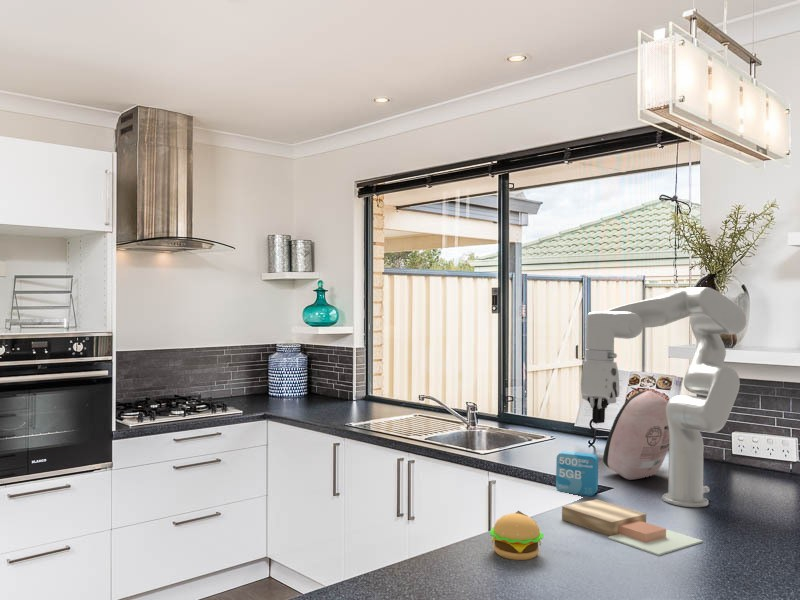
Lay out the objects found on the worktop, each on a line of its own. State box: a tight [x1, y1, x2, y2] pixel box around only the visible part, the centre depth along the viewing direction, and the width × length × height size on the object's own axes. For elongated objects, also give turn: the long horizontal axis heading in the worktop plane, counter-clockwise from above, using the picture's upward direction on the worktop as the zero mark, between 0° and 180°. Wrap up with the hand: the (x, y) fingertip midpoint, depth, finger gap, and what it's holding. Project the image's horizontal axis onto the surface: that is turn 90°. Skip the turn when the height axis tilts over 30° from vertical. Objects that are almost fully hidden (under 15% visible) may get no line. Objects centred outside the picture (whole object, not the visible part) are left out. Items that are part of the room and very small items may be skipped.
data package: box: [555, 450, 599, 497], centre depth 212 cm, size 12×4×12 cm, turn 65°
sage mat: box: [607, 528, 704, 557], centre depth 168 cm, size 18×14×1 cm
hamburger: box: [489, 512, 544, 561], centre depth 157 cm, size 12×12×9 cm
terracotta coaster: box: [618, 520, 667, 542], centre depth 170 cm, size 8×8×2 cm
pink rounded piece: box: [602, 390, 669, 481], centre depth 233 cm, size 22×20×30 cm
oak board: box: [561, 499, 647, 537], centre depth 181 cm, size 14×16×4 cm
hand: (598, 422), depth 190 cm, fingers closed
